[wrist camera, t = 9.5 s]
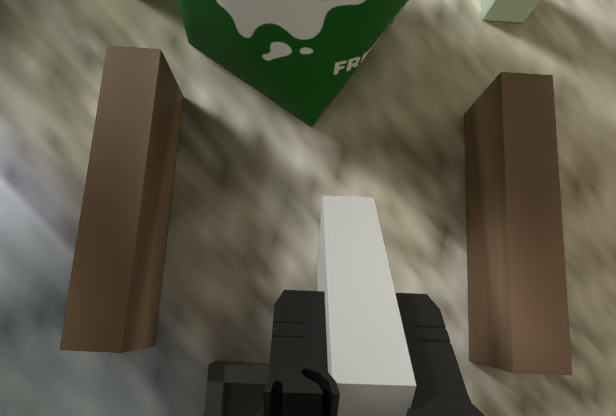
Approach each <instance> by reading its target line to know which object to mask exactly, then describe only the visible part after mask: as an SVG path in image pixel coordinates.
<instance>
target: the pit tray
mask: <svg viewBox="0 0 616 416" xmlns="http://www.w3.org/2000/svg"><path fill="white" fill-rule="evenodd" d="M269 366H270V364H264V363H243V362H223V361H214V362H213V363H211V364H209V369H208V380H207V391H206V402H205V413H204V416H254V415H255V414H256V413H257V412H258V411H259V410H260V409H261V407H262V405H263V392H264V389H265V386H266V383H267V380H268V378H269Z"/></svg>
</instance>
